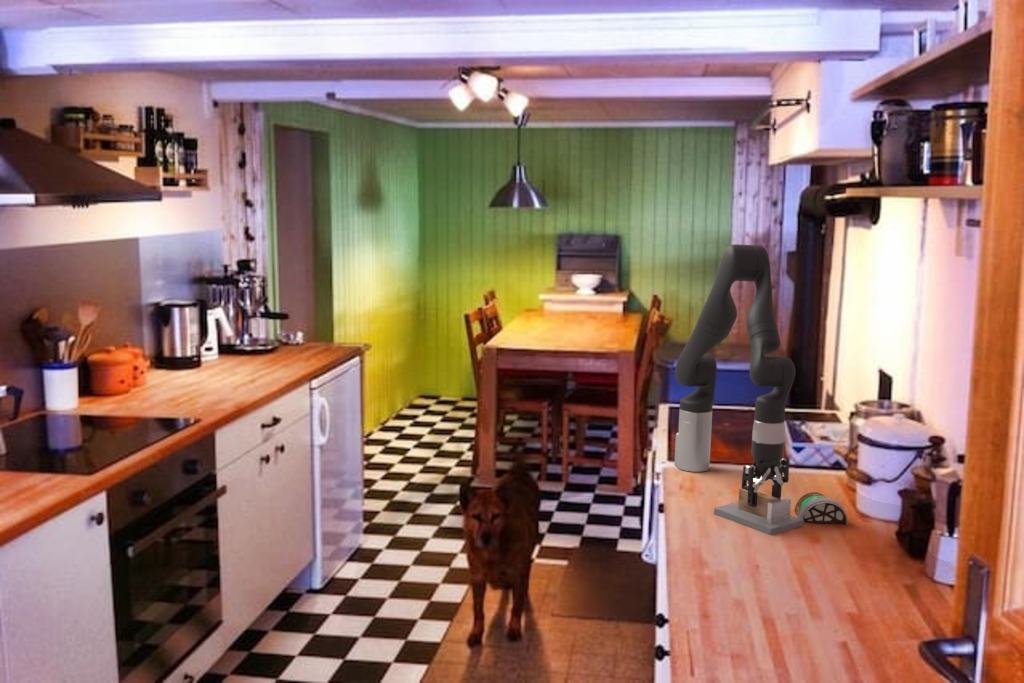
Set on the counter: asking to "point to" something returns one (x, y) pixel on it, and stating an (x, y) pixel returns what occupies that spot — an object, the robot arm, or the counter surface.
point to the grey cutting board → (756, 520)
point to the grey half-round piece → (820, 509)
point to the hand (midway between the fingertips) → (764, 503)
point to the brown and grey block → (766, 507)
